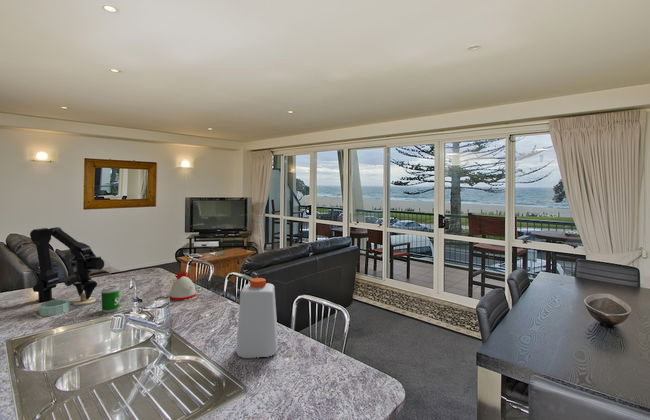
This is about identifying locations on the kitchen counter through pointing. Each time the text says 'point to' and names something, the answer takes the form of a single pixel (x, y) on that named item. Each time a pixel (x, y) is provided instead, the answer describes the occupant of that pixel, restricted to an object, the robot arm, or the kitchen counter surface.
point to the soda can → (110, 299)
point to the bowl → (54, 307)
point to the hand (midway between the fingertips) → (83, 297)
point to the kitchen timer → (182, 287)
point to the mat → (84, 305)
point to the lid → (83, 300)
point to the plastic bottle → (257, 320)
